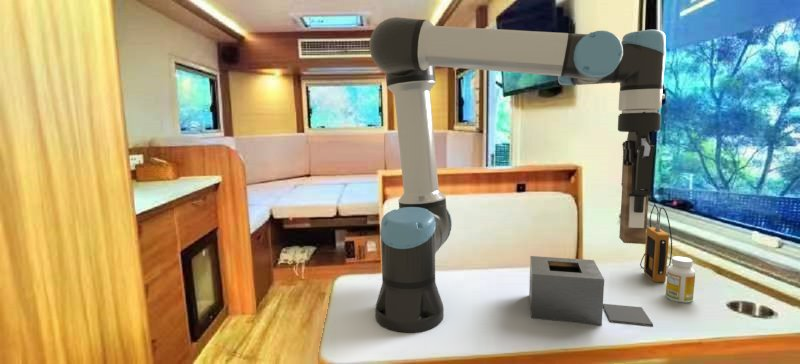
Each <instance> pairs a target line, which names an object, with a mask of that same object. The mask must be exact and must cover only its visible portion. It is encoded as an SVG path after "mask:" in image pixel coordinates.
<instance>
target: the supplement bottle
mask: <svg viewBox="0 0 800 364" xmlns="http://www.w3.org/2000/svg"><path fill="white" fill-rule="evenodd" d="M693 264H694V263H693V259H691V258H689V257H687V256H686V257H684V256H681V255H680V256H679V255H678V256H677V255H676V256H673V257H671V264H670V266H669V265H668V267H667V269H666V275H667V276H666V285H665V287H666V288H665V296H666V297H667V299H669V300H672V301H673V302H677V303H691V302H693V300H694V292H695V291H694V290H695V284H696V283H695V282H696V281H695V280H696V271H695V269H694V268H692V267H693Z"/></svg>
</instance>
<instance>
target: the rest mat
mask: <svg viewBox="0 0 800 364" xmlns="http://www.w3.org/2000/svg"><path fill="white" fill-rule="evenodd" d="M603 310H604V312H605V313H606V316H607V318H608V320H609V322H611V323H618V324H627V325H628V324H629V325H638V326H639V325H640V326H646V327H647V326H648V327H649V326H650V327H654V324H653V321H652V320H651V319H650V317H649V316H648V314H647V313H646V311H645V310H644V309H643V307H642V306H632V305H622V304H621V305H620V304H612V303H609V304H608V303H603Z"/></svg>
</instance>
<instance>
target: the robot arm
mask: <svg viewBox="0 0 800 364" xmlns="http://www.w3.org/2000/svg"><path fill="white" fill-rule="evenodd" d="M666 41H667V40H666V34H665V33H664V32H663V31H662V30H658V29H646V30H645V29H644V30H639V31H632V32H628V33H626V34H624V35H623V37H622V41H621V39H620V38H619V37H618V36H617V35H616V34H615V33H613V32H611V31H609V30H595V31H592V32H589V33H568V32H552V31H536V30H535V31H531V30H519V29H518V30H517V29H498V28H497V29H495V28H483V27H482V28H478V27H477V28H476V27H464V26H463V27H462V26H444V25H443V26H441V25H434V24H433V23H432V22H431V21H430V19H419V18H418V19H417V18H407V17H400V16H399V17H397V16H395V17H389V18H387V19H384V20H383V21H381V22H379V23H378V24H377V25H376V26H375V28H374V30H373V31H372V33H371V36H370V38H369V53H370V56H371V58H372V61H373V62H374V64H375V65H376V67H378V68H379V69H380V70H381V71H383V72H385V81H386V88H387V89H388V90H389V91H390V92H391V93H392V94H393V96H394V97H393V98H394V106H395V107H394V108H395V115H396V126H397V133H398V134H397V135H398V136H397V137H398V146H399V157H400V167H401V176H402V177H401V178H402V189H403V193H402V195H401V196H400V198H399V199H398V208H397V209H391V210H390V211H388V212H386V213H385V214H384V215H383V217H382V218H381V220H380V231H379V235H380V247H381V248H380V249H381V253H380V255H381V274H382V275H381V277H382V281H381V282H382V284H381V287H380V290H379V293H378V297H377V301H376V304H375V308H374V310H375V313H374V314H375V316H374V317H375V320H376V322H377V323H378V324H379V325H380V326H381V327H383V328H385V329H387V330H391V331H393V332H401V333H419V332H423V331H427V330H430V329H433V328H436V327H437V326H438V325H440V324H441V323H442V322H443V319H444V317H445V316H444V304H443V300H442V298H441V296H440V293H439V290H438V286H437V284H436V253H438V251H439V249H440V248H442V246H443V245H444V244H445V243H446V241H447V240H448V239H449V236H450V235H451V231H452V226H453V225H452V224H453V223H452V221H453V220H452V217H451V214H450V212H449V211H450V210H448V208H447V200H446V199H447V198H446V195H445V194H444V193H443V192H441V191H440V189H439V178H438V168H437V156H436V154H437V153H436V144H435V134H434V121H433V111H432V110H433V109H432V100H431V90H432V89H433V88H434V86H435V84H436V81H437V80H436V72H435V68H436V67H442V68H443V67H444V68H456V69H468V70H481V71H493V72H504V73H519V74H529V75H531V74H532V75H543V76H554V77H557V81H558V83H559V85H561V86H574V87H575V86H576V87H577V86H581V85H582V86H583V85H584V86H585V85H598V84H599V85H601V84H602V85H603V84H619V93H618V111H621V113H619V114H618V117H617V131H618V132H622V133H628V134H627V139H626V140H625V141H623V142H622V169H621V170H622V171H621V186H622V181H623V165H632V193H628V196H630V204H629V221H628V227H629V228H644V218H645V203H646V197H647V195H649V196H651V190H652V189H651V187H652V174H653V162H654V161H653V160H654V154H655V150H656V147H655V145H653V144H652V141H651V140H650V133H651V132H653V133H654V132H659V131H660V130H661V126H662V125H661V123H662V114H661V113H660V112H658V110H661V109H662V107H663V106H662V104H663V102H662V101H663V100H664V99H666V95H665V93H663V90H664V85H663V84H664V78H665V77H664V74H665V66H666V65H665V63H666V56H667V53H666V51H667V50H666V48H667V47H666V44H667V43H666Z"/></svg>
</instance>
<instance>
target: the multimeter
mask: <svg viewBox="0 0 800 364" xmlns="http://www.w3.org/2000/svg"><path fill="white" fill-rule="evenodd" d="M654 208H656V211H657V213H656V215H657V218H656V222H655V223H656V224H655V226H654V227H652V223H651V221H652V220H651V219H652V213H653V211H654ZM662 209H663V211H664V213H665V216H666V218H667V219H666V220H667V223H668V227H669V233H668V232H666V231H664V230H662V229H661V225H660V224H661V210H662ZM672 238H673V237H672V228H671V225H670V219H669V215H668V213H667V211H666V209H665V208H664V207H660V208H658V207H657V205H656V203H654V204H653V207H652V209H651V211H650V215H649V226H647V230H646V244H645V247H644V248H645V249H644V250H645V251H644V254H643V256H642V258H641V260H640V264H639V266H640V268H641V269H643V273H644V274H645V275H646V276H648V277H649V278H650V279H651V281H652V282H653V283H665V282H667V269H668V267H669V266H671V265H672V254H673V239H672ZM669 239H670V240H669ZM669 243H670V255H669V264H668V254H669V252H668V251H669ZM643 260H644V263H643ZM642 263H643V266H642ZM667 266H668V267H667Z"/></svg>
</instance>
